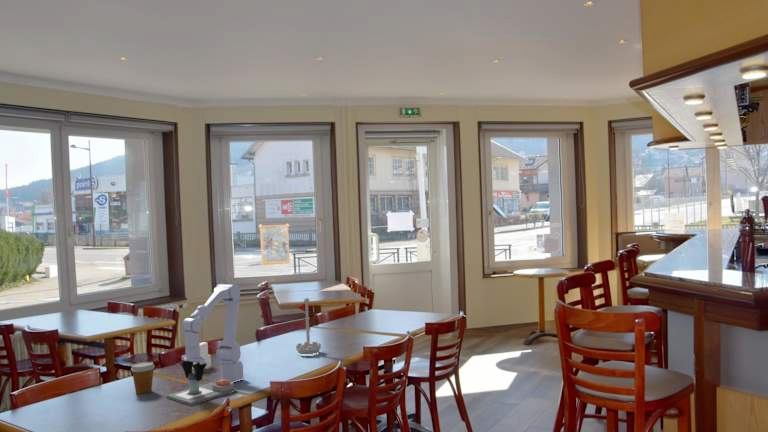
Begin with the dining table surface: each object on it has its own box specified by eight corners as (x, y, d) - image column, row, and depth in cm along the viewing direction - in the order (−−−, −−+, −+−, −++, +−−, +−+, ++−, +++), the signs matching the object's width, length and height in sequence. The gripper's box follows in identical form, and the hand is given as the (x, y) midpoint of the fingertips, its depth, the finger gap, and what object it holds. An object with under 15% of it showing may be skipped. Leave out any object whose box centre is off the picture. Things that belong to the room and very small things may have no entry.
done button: (224, 384, 251) (224, 378, 251) (229, 386, 249) (229, 379, 249) (216, 387, 248) (216, 380, 248) (221, 388, 246) (221, 382, 246)
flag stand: (323, 351, 317) (321, 295, 317) (318, 357, 304) (315, 299, 304) (299, 351, 318) (297, 296, 318) (293, 357, 305) (291, 300, 305)
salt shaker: (195, 390, 247) (195, 372, 247) (201, 392, 245) (200, 373, 245) (187, 393, 244) (186, 374, 244) (192, 395, 242) (191, 375, 242)
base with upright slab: (205, 370, 285) (204, 346, 285) (188, 370, 287) (187, 346, 287) (214, 365, 294) (213, 342, 294) (197, 365, 296) (196, 342, 296)
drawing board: (212, 384, 261) (212, 377, 261) (236, 391, 249) (236, 383, 249) (166, 398, 244) (166, 389, 244) (190, 405, 232) (190, 397, 232)
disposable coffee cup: (132, 390, 256) (131, 363, 256) (155, 387, 260) (154, 360, 260) (131, 396, 248) (130, 368, 248) (155, 393, 251) (154, 365, 251)
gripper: (174, 346, 246) (175, 378, 246) (193, 350, 237) (195, 384, 237) (189, 343, 252) (190, 374, 252) (208, 347, 242) (210, 379, 242)
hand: (193, 379), depth 245 cm, fingers open, 7 cm apart
